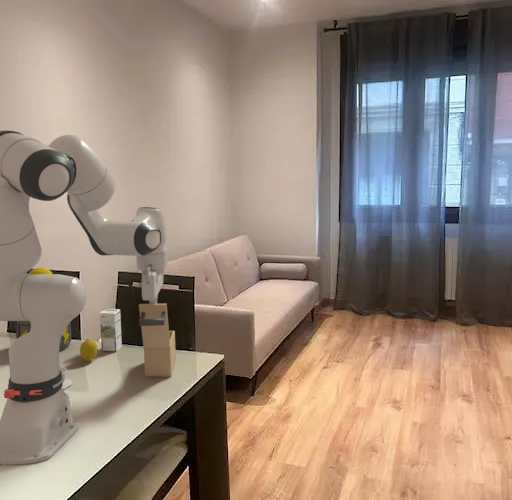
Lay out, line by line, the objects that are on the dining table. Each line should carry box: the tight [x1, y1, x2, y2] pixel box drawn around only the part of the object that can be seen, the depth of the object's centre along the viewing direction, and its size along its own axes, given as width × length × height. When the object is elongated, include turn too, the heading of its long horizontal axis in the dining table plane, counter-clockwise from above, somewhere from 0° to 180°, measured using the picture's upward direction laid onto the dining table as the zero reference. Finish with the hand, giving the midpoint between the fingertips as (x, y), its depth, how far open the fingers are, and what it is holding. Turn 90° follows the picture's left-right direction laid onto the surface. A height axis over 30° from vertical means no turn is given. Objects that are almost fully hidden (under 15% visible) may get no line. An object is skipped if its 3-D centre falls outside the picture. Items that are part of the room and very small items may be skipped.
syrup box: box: [99, 308, 123, 353], centre depth 185 cm, size 6×6×14 cm
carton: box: [143, 330, 176, 379], centre depth 166 cm, size 16×8×10 cm, turn 4°
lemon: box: [79, 338, 98, 362], centre depth 173 cm, size 6×6×8 cm
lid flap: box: [138, 303, 170, 349], centre depth 151 cm, size 16×8×6 cm
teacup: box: [60, 366, 73, 390], centre depth 153 cm, size 10×10×5 cm
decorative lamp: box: [15, 266, 72, 353], centre depth 186 cm, size 19×19×30 cm
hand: (153, 308), depth 152 cm, fingers closed
